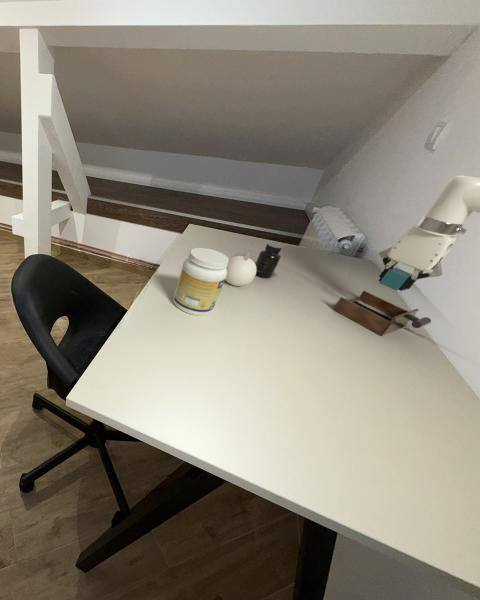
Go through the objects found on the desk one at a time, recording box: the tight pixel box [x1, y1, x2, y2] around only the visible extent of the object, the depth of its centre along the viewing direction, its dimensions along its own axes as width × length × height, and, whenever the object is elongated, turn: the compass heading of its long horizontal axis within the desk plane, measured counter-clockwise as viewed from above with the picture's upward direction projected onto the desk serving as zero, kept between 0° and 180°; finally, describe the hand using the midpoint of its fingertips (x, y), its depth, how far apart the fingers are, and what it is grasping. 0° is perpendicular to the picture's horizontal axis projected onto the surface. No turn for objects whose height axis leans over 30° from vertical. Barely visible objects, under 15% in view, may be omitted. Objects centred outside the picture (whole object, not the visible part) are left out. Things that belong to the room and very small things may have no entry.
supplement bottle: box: [254, 242, 283, 279], centre depth 115 cm, size 7×7×12 cm
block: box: [378, 267, 413, 292], centre depth 91 cm, size 4×4×4 cm
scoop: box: [332, 290, 432, 337], centre depth 95 cm, size 18×14×7 cm
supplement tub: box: [172, 247, 230, 316], centre depth 91 cm, size 12×12×17 cm
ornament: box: [225, 252, 257, 287], centre depth 106 cm, size 10×10×12 cm
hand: (392, 284), depth 92 cm, fingers closed on block, 4 cm apart
